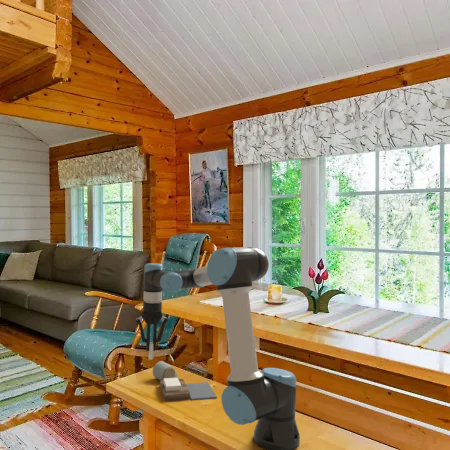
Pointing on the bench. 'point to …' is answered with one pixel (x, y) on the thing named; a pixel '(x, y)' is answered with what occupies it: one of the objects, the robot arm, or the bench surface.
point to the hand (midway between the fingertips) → (150, 358)
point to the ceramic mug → (163, 371)
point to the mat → (200, 391)
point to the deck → (175, 392)
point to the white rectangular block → (172, 384)
